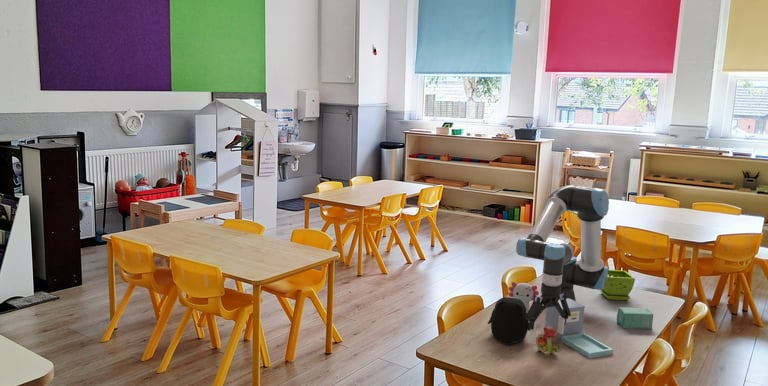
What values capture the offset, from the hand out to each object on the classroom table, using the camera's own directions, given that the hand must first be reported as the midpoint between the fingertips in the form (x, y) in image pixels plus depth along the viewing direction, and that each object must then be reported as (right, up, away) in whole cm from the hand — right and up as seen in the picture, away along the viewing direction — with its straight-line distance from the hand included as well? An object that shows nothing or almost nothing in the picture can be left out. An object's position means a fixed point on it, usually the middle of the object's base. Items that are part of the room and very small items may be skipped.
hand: (546, 335), depth 246 cm
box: (+48, -4, +35) cm, 60 cm away
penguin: (-12, -5, +15) cm, 20 cm away
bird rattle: (0, -8, +2) cm, 8 cm away
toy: (0, 0, +42) cm, 42 cm away
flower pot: (+53, +3, +72) cm, 89 cm away
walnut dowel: (+5, -6, +12) cm, 15 cm away
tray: (+19, -7, +9) cm, 22 cm away
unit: (+13, -4, +23) cm, 27 cm away
